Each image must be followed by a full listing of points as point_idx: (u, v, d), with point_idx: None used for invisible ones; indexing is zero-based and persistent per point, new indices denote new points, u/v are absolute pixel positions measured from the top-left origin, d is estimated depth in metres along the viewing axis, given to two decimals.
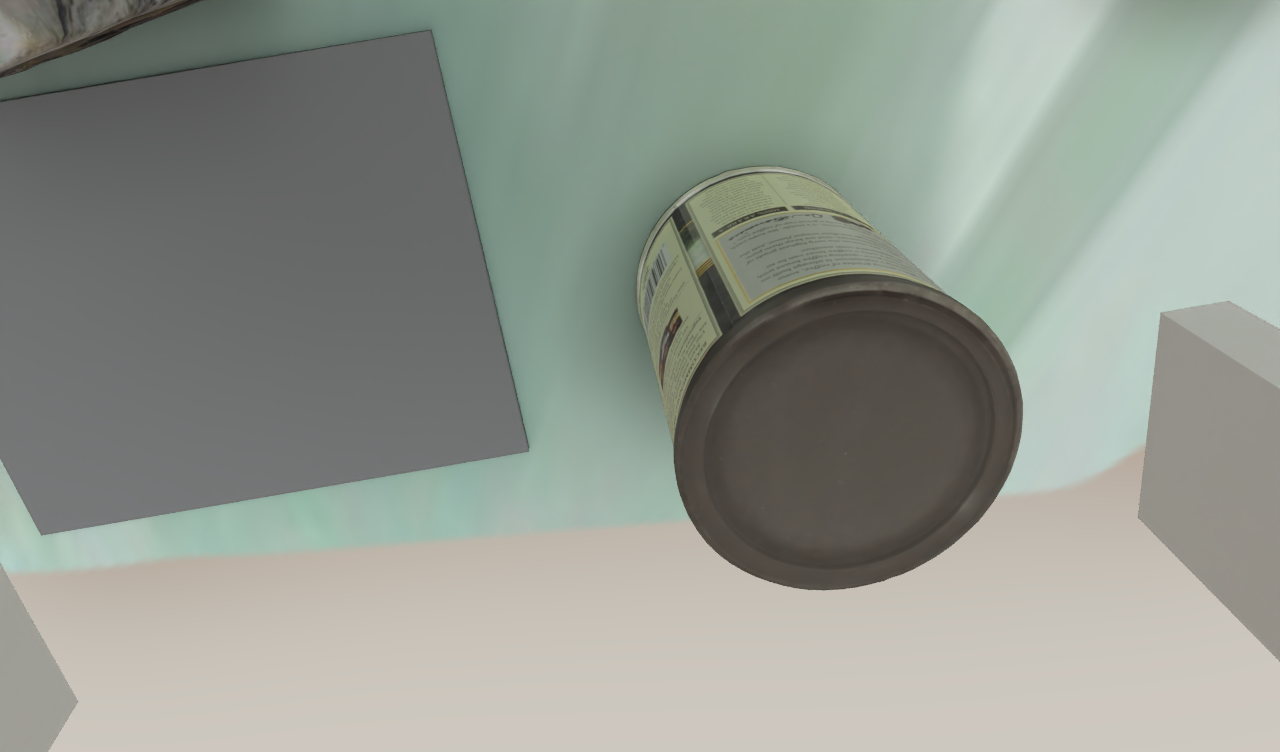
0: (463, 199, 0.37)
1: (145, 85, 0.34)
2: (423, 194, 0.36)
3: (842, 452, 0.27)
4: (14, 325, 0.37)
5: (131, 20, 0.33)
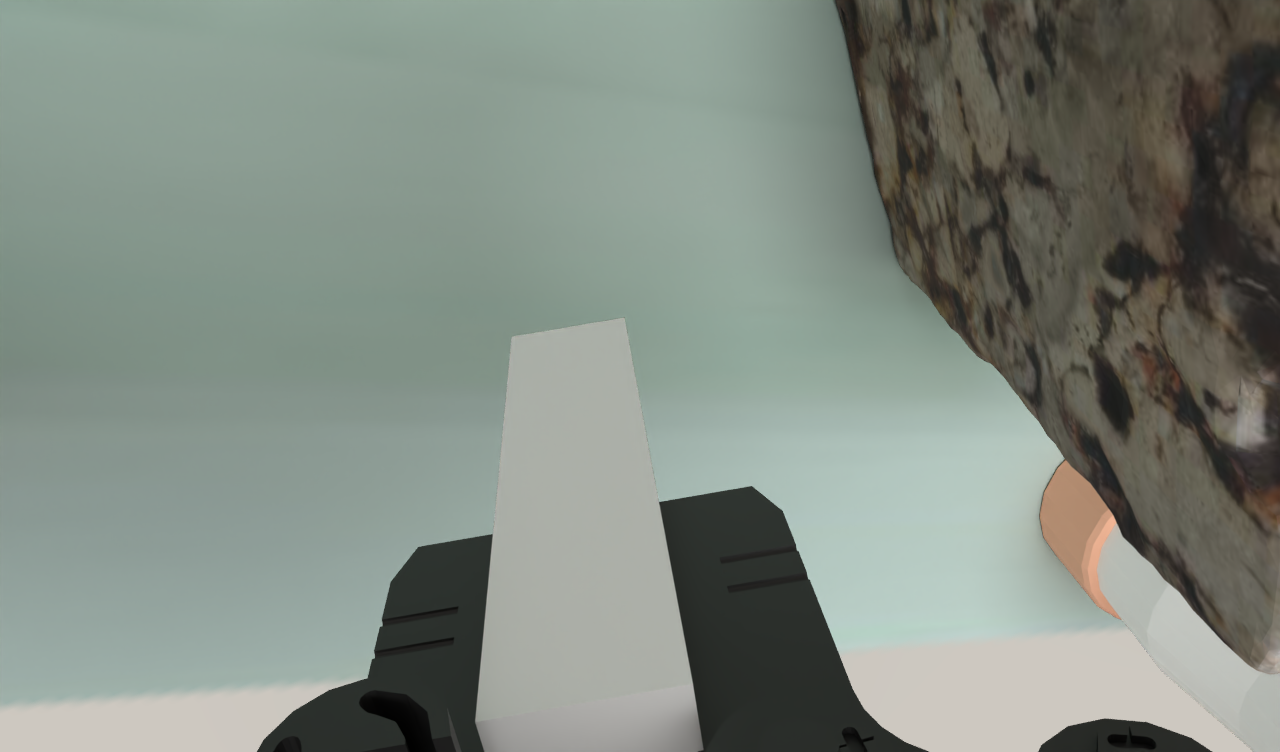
0: None
1: None
2: None
3: None
4: None
5: None
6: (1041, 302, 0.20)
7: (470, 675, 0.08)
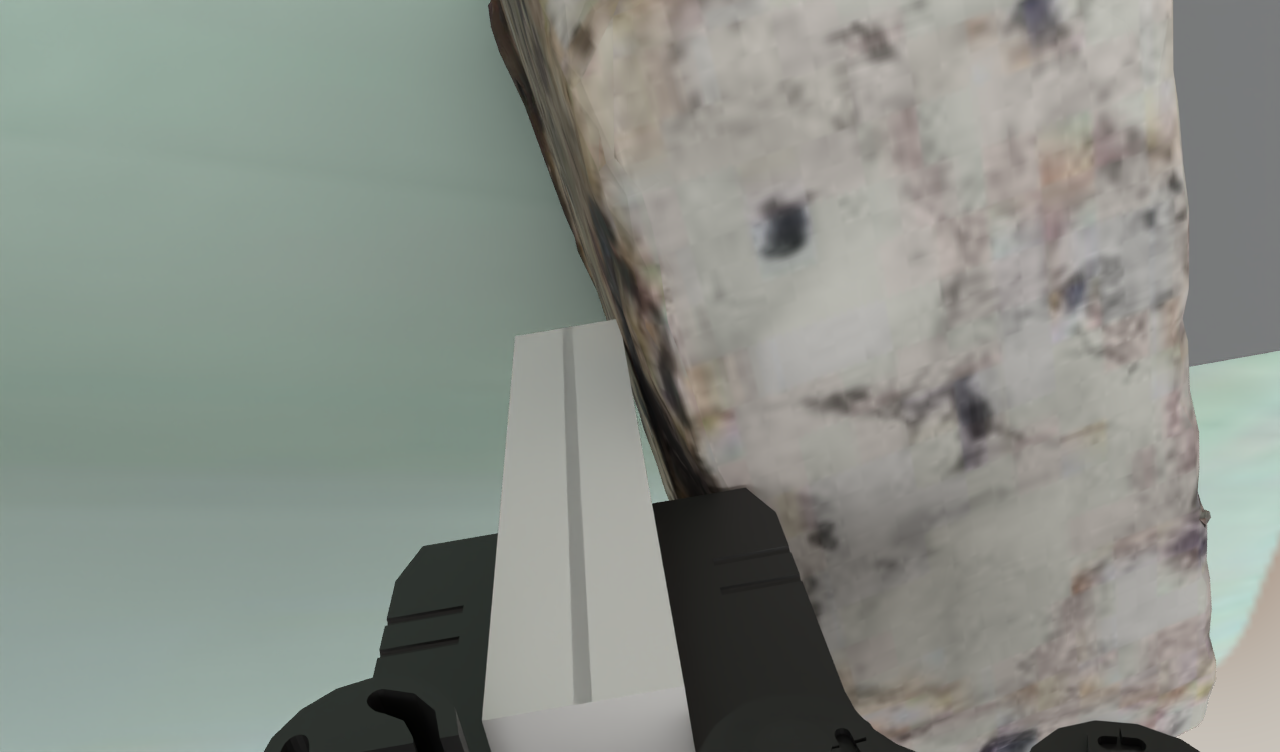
0: None
1: None
2: None
3: None
4: None
5: None
6: (643, 420, 0.18)
7: (475, 673, 0.08)
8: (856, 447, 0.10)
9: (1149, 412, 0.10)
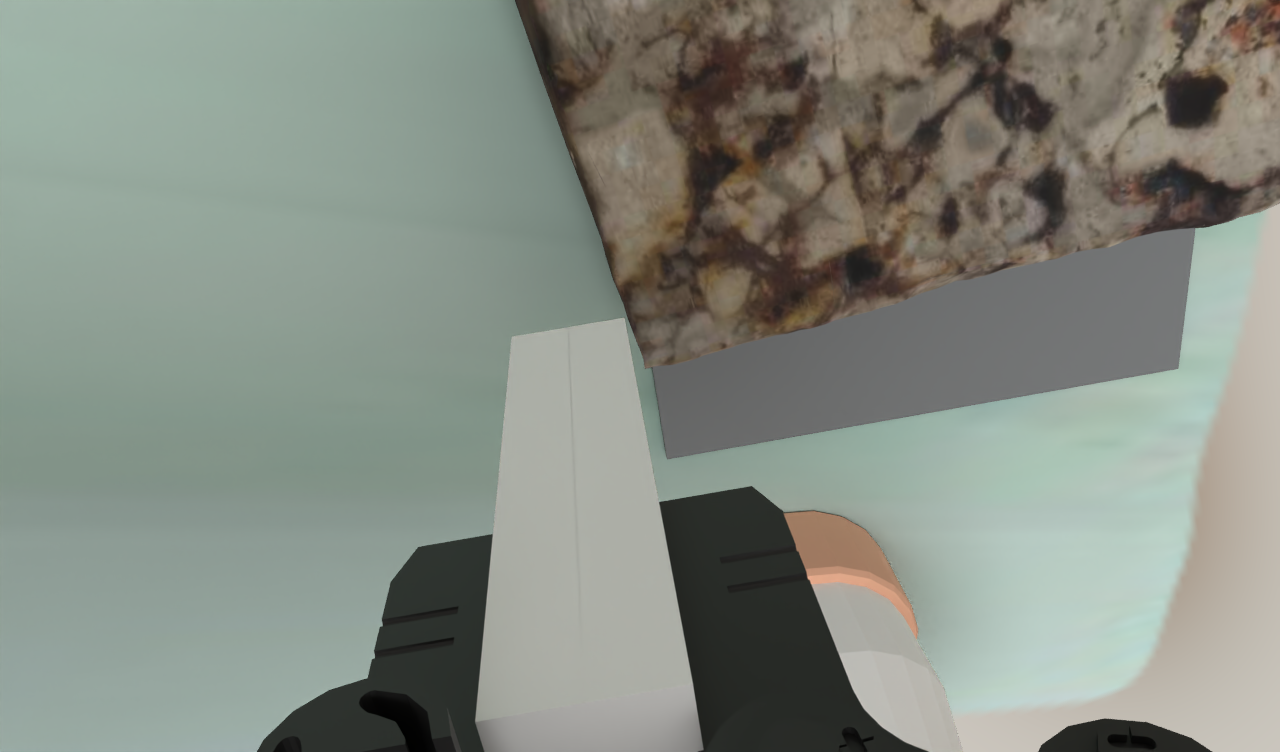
0: None
1: None
2: None
3: None
4: (901, 334, 0.31)
5: None
6: (1075, 99, 0.22)
7: (470, 675, 0.08)
8: None
9: None
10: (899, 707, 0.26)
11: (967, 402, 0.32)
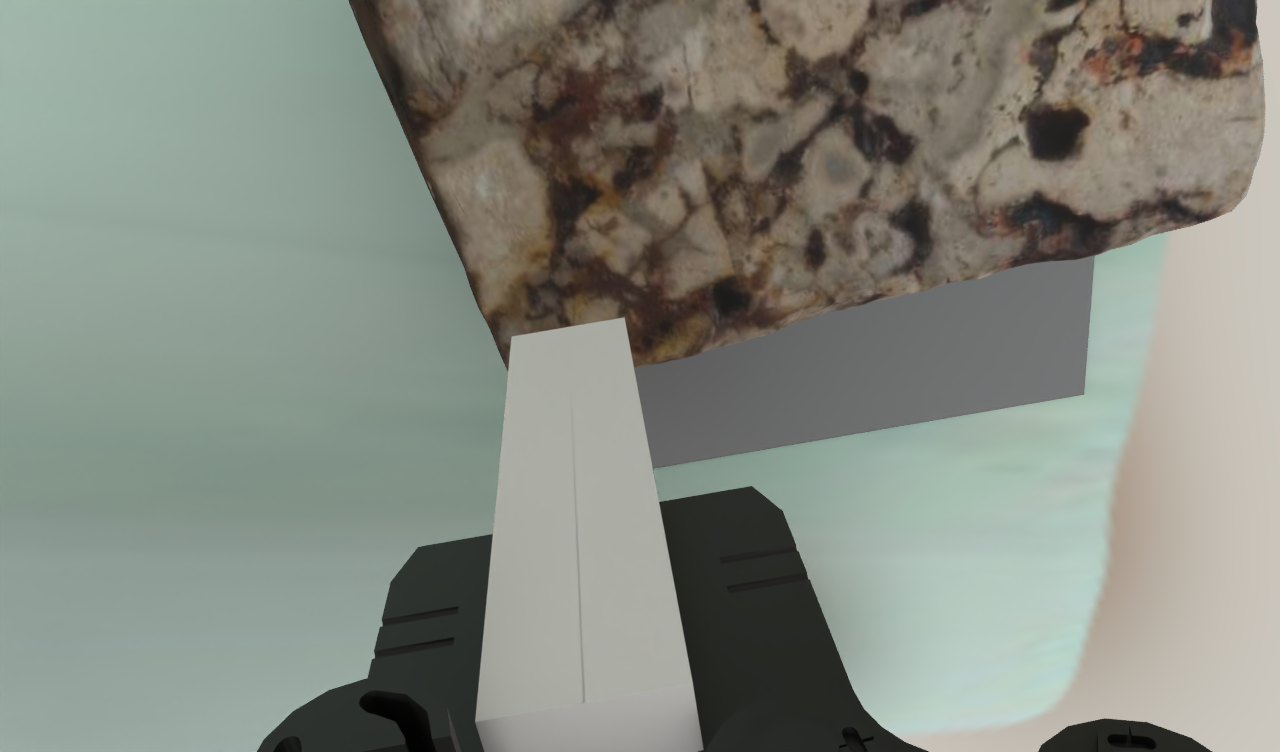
0: None
1: None
2: None
3: None
4: (799, 360, 0.31)
5: None
6: (935, 131, 0.22)
7: (470, 675, 0.08)
8: None
9: None
10: None
11: (870, 427, 0.32)
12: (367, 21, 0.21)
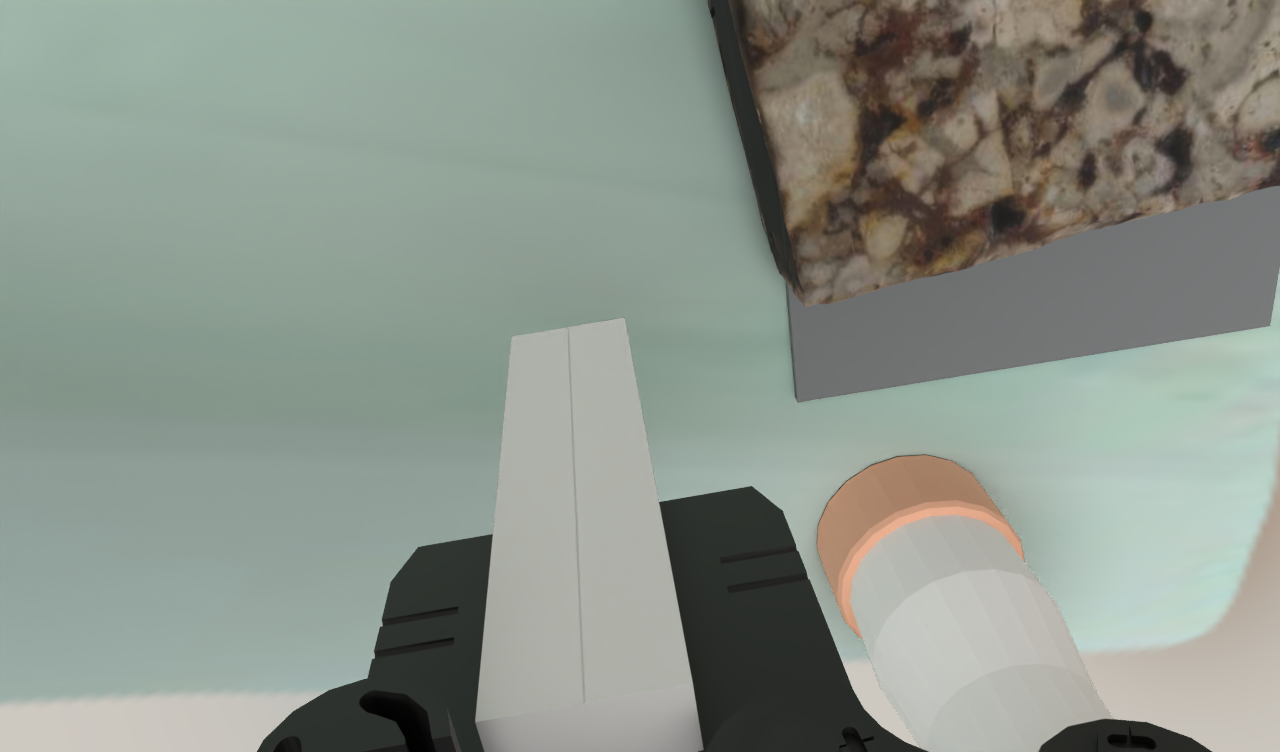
0: None
1: None
2: None
3: None
4: (1017, 289, 0.34)
5: (731, 80, 0.30)
6: (1206, 65, 0.25)
7: (470, 675, 0.08)
8: None
9: None
10: (1025, 616, 0.29)
11: (1074, 354, 0.35)
12: None
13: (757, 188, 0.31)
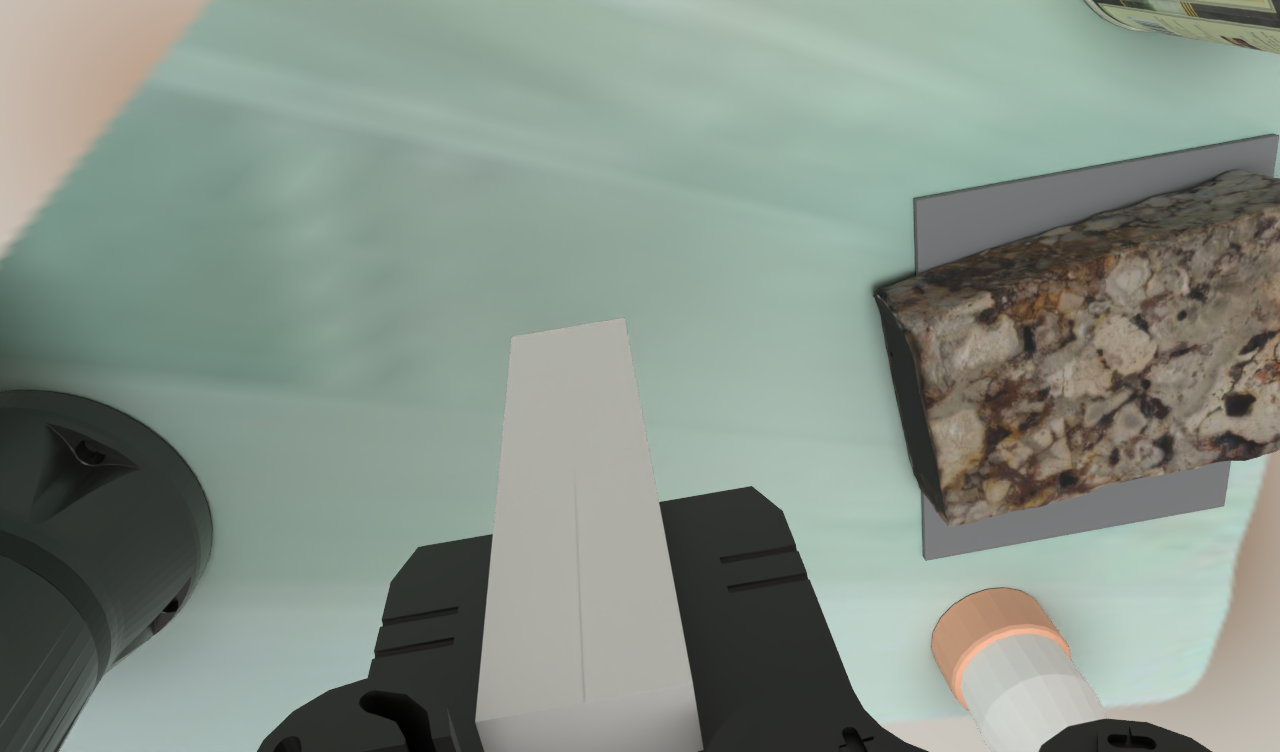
0: (1043, 182, 0.46)
1: None
2: (1032, 213, 0.46)
3: None
4: None
5: (897, 385, 0.50)
6: (1180, 404, 0.45)
7: (470, 675, 0.08)
8: None
9: None
10: (1079, 704, 0.49)
11: (1100, 526, 0.55)
12: (917, 362, 0.44)
13: (910, 444, 0.51)
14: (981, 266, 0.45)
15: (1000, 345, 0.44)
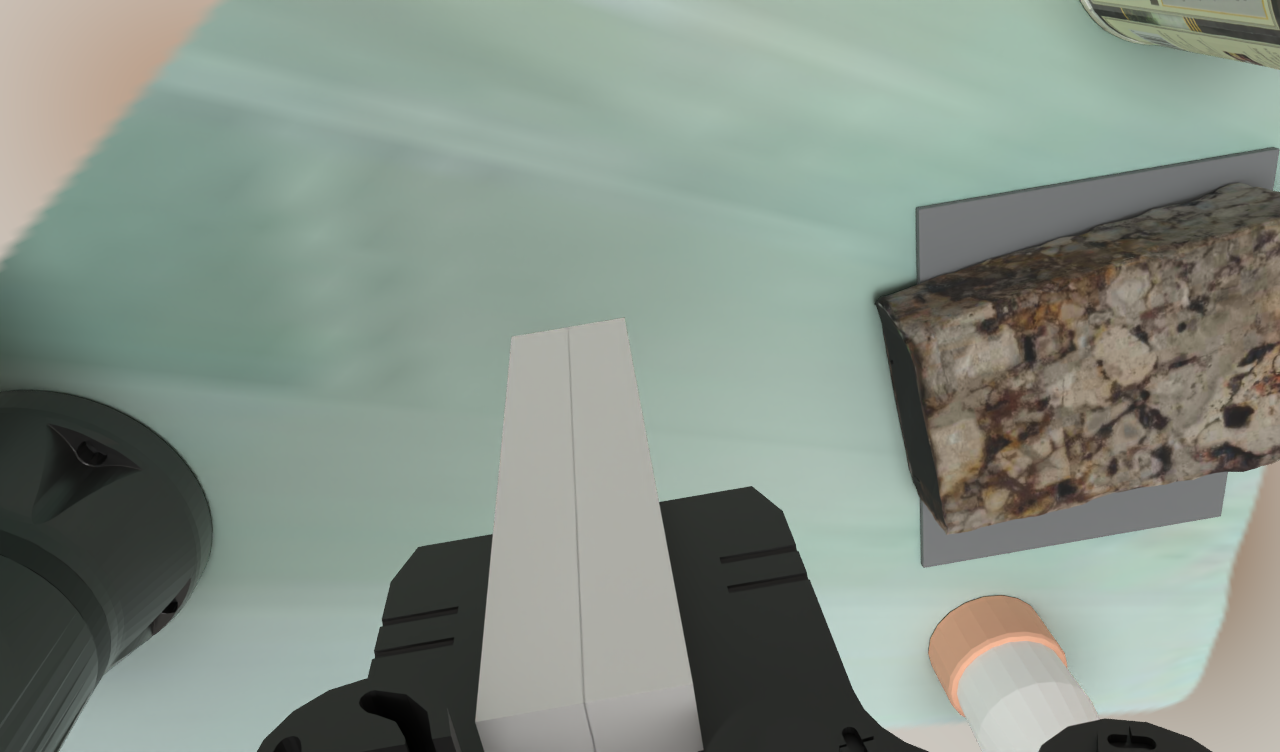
0: (1044, 193, 0.46)
1: None
2: (1034, 223, 0.46)
3: None
4: None
5: (898, 393, 0.50)
6: (1179, 416, 0.45)
7: (470, 675, 0.08)
8: None
9: None
10: (1075, 713, 0.50)
11: (1097, 535, 0.55)
12: (918, 371, 0.44)
13: (910, 452, 0.51)
14: (983, 275, 0.46)
15: (1001, 355, 0.44)
